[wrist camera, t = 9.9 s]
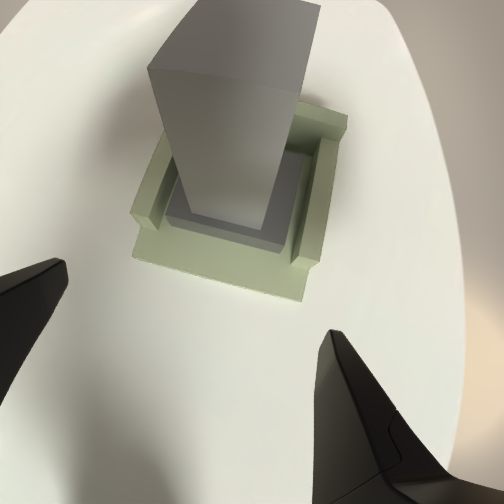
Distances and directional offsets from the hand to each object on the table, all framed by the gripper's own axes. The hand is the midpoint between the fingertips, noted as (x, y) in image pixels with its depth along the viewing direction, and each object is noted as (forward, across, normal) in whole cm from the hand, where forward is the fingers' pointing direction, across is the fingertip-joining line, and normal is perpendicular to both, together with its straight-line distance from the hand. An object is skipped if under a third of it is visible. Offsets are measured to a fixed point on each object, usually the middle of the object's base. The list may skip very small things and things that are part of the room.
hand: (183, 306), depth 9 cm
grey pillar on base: (+12, 0, +1) cm, 12 cm away
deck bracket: (+12, 0, +1) cm, 13 cm away
